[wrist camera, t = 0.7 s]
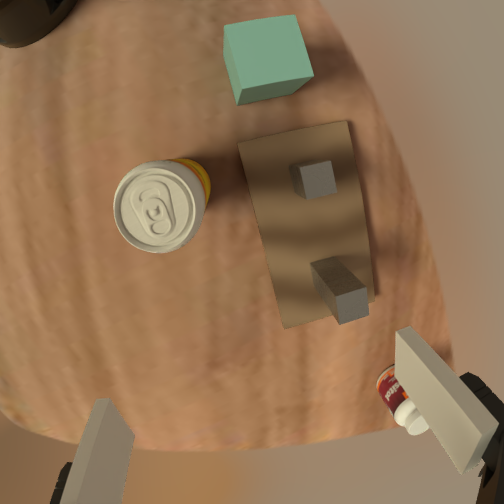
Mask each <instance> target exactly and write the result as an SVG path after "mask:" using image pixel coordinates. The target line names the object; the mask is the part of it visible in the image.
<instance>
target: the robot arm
mask: <svg viewBox="0 0 504 504" xmlns="http://www.w3.org/2000/svg"><path fill="white" fill-rule="evenodd" d="M76 2H77V0H0V45H2V46H5V47H8V48H19V47H23V46H26V45H29V44H31V43H33V42H35V41H37V40H39V39H40V38H42V37H43V36H45V35H46V34H48V33H49V32H50V31H51V30H53V29H54V28H55V27H56V26H57V25H58V24H59V23H60V22H61V21H62V20H63V19H64V18H65V17H66V16H67V15H68V13H69V12H70V11H71V9H72V8H73V7H74V5H75V4H76ZM394 376H395V378H396V379H397V380H398V382H399V383H400V385H401V386H402V388H403V389H404V390H405V392H406V393H407V395H408V396H409V398H410V399H411V401H412V402H413V403H414V405H415V406H416V408H417V409H418V411H419V412H420V414H421V415H422V417H423V418H424V420H425V421H426V422H427V424H428V425H429V427H430V428H431V430H432V431H433V433H434V434H435V436H436V437H437V439H438V440H439V442H440V443H441V445H442V446H443V448H444V449H445V451H446V453H447V454H448V456H449V457H450V458H451V460H452V462H453V463H454V465H455V466H456V468H457V470H458V471H459V473H460V474H461V475H463V474H464V473H466V472H468V471H470V470H471V469H473V468H474V467H476V466H477V465H478V463H479V462H480V460H481V458H482V459H483V460H484V462H485V465H484V466H483V468H482V469H481V471H480V473H479V476H478V477H480V476H481V475H482V479H481V484H480V488H479V493H478V497H477V501H476V504H504V404H503V402H502V401H501V400H500V399H499V398H498V397H497V396H496V395H495V394H494V393H492V391H491V389H490V388H489V387H488V386H486V384H485V383H484V382H483V381H482V380H481V379H480V378H479V377H478V376H476V375H473V374H471V373H469V372H467V373H465V374H464V375H462V376H460V377H458V376H457V375H456V374H455V373H454V371H453V370H452V369H451V368H450V367H449V366H448V365H447V364H446V363H445V362H444V361H443V360H442V359H441V357H440V356H439V355H438V354H437V353H436V352H435V351H434V350H433V349H432V348H431V347H430V346H429V345H428V344H427V343H426V342H425V341H424V339H423V338H422V337H421V336H420V335H419V334H418V333H417V332H416V331H415V330H414V329H413V328H412V327H411V326H408V327H406V328H403V329H401V330H398V331H396V347H395V372H394ZM134 438H135V435H134V433H133V432H132V430H131V429H130V428H129V426H128V425H127V423H126V422H125V420H124V419H123V417H122V416H121V414H120V413H119V411H118V410H117V408H116V407H115V405H114V404H113V402H112V401H111V399H110V398H103V399H96V401H95V404H94V406H93V409H92V411H91V414H90V417H89V419H88V422H87V424H86V427H85V430H84V433H83V435H82V438H81V441H80V443H79V446H78V449H77V452H76V455H75V458H74V461H73V463H71V462H67V464H66V465H65V466H64V467H63V468H62V470H61V472H60V474H59V477H58V482H57V483H56V486H55V488H56V489H54V492H53V495H52V498H51V501H50V504H121V503H122V497H123V492H124V487H125V481H126V476H127V471H128V466H129V461H130V456H131V451H132V447H133V442H134Z"/></svg>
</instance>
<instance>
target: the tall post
mask: <svg viewBox="0 0 504 504" xmlns="http://www.w3.org/2000/svg"><path fill="white" fill-rule="evenodd" d="M310 268H311V273H312V279H313V284H314V287H315V289H316V290H317V292H318V293H319V295H320V296H321V298H322V299H323V301H324V302H325V304H326V305H327V307H328V308H329V310H330V311H331V313H332V314H333V316H334V317H335V319H336V320H337V322H338V323H339V325H341V324H344V323H347V322H350V321H353V320H356V319H359V318H362V317H365V316H368V315H369V308H368V297H367V287H366V286H365V285H364V284H363V283H362V282H361V281H360V280H359V279H358V278H357V277H356V276H355V275H354V274H353V273H352V272H351V271H350V270H349V269H348V268H346V267H345V266H344V265H343V264H342V263H341V262H340V261H339V260H338V259H337V258H336V257H335V256H332V257H329V258H325V259H322V260H318V261H315V262H311V263H310Z"/></svg>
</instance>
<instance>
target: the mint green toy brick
mask: <svg viewBox="0 0 504 504" xmlns="http://www.w3.org/2000/svg"><path fill="white" fill-rule="evenodd" d="M223 56H224V60H225V64H226V67H227V71H228V75H229V78H230V82H231V86H232V89H233V93H234V97H235V100H236V104H237V106H238V105H242V104H247V103H251V102H256V101H260V100H265V99H270V98H275V97H280V96H285V95H291V94H293V93H294V92H295V91H296V90H297V89H299V88H300V87H301V86H302V85H304V84H305V83H306V82H307V81H309V80H310V79H311V78H312V77H314V74H313V70H312V67H311V64H310V60H309V57H308V54H307V50H306V47H305V44H304V41H303V38H302V34H301V31H300V28H299V25H298V22H297V19H296V16H295V15H286V16H278V17H270V18H263V19H257V20H251V21H245V22H239V23H234V24H229V25H224V51H223Z"/></svg>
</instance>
